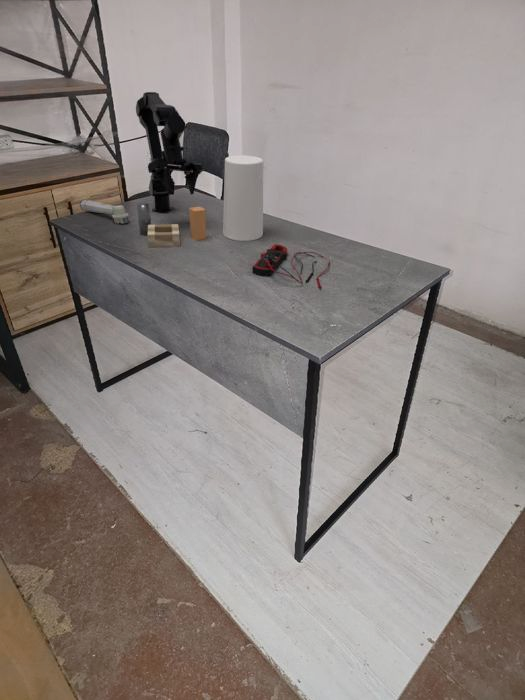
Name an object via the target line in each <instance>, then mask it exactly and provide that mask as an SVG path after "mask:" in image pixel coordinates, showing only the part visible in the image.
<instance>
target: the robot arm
mask: <svg viewBox="0 0 525 700" xmlns="http://www.w3.org/2000/svg"><path fill="white" fill-rule="evenodd" d="M135 113H136V116H137V118H138V121H139V124H140V125H141V126H142V128H144V129H145V135H146V139H147V144H148V148H149V154H150V158H151V159H150V160H151V161H150V162H149V163H148V165H147V170H148V172H149V174H151V175H150V180H149V185H148V193H149V195H150V196H151V197H154V199H153V200H154V208H152V209H151V211H152V212H158V213H164V214H167V213H169V212H170V211H172V210H174V209H175V208H174V206H171V201H170V195H172V196H173V195H175V185H176V184H175V183H176V182H175V180H174V179H173V178H172V173H173V172H174V171H176V172H183V174H184V175H185V176H184V179H186V181H187V185H188V190H189V193H190V195H194V193H195V188H196V184H197V181H198V180H197V179H198V177H199V175H200V174H201V173H202V172H204V168H203V164H201V163H200V162H190V163H189V164H187V160H186V158H185V159H184V157H183V156H184V155H183V151H185V150H184V149H185V148H184V146H181V142H180V139H181V137H182V135H183V133H184V131H185V129H186V121H185V120H184V119H183V117H182V116H181V115H180V113H179V111H178V110H177V109H176V107H175V106H174V105H171V104H166V103H165V102H164V100H163V99H162V98H161V96H160V94H159V92H156V91H153V92H152V91H146V92H143V95H142V96H141V97H140V98H139V99H138V100H136V106H135ZM158 127H163V128H162V129H161V131H160V132H159V129H158ZM159 133H160V134H159ZM162 149H163V150H162ZM185 164H187V165H185Z"/></svg>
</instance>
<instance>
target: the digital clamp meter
mask: <svg viewBox="0 0 525 700" xmlns="http://www.w3.org/2000/svg"><path fill="white" fill-rule="evenodd" d="M309 253H311V254H314V255H317V256H319V257H322V258H323V257H324V259H325V258H326V257H325V256H324V255H322V254H319V253H317V252H314V251H302V252H301V251H300V252H299V251H298V252H294V254H293V256H292V259H291V261H290V263H291V267H292V268H293V269H294V270H295V271H296V273H297V275H298V276H299V279H300V281H299V279H297V278H295V276H293V274H291V273H290V272H289V271H288V270H287V269H285V268H284V267H282V266H280V265H281V264H282V262H283V261H287V256H288V255H287V254H288V248H287V247H286V246H285V245H282V244H273V245H272V246H271V247H270V248H268V249H266V252H263V253H260V258H259V259H258V260H257V261H256V263H254V265H252V274H253V275H256V276H259V277H265V278H266V277H271V276H272V275H273V274H274V272H275V273H277V274H281V275H284V276H287V277H289V278H291V279H294V280H295V281H297V282H298V283H299V284H302V283H303V279H302V277H301V275H302V270H303V266H304V265H303V262H302V261H301V260H300V259H299V258H298V257H296V256H298V255H302V254H304V255H307V256H310V257H312V258H314V259H316V256H314V255H311V254H309ZM294 258H295V259H296V260H298V262H299V263H300V264H301V267H300V273H299V271H298V270H297V269H296V267H295V266H294V265H293V260H294ZM317 262H318V261H317V260H316V261H313V262H312V264H311V265H312V266H311V268H312V270H311V273H310V275H309V276H308V277H307V279H306V280H305V284H304V286H306V285H307V284H308V283H309V282H310V280H311V279H312V277H313V276H314V264H315V263H317ZM330 264H331V262H330V260H329V261H328V264H327V267H326V268H325V269H324V270H323V272H321V273H320V274H319V275H318V276H317V277H316V279H315V281H316V283H317V288H318V289H319V291H320V292H322V288H323V287H322V285H321V281H320V279H319V277H320V276H321V275H322V274H324V272H326V271H327V270H328V269H329V266H330ZM278 267H280V268H281V269H282V270H284V271H285V272H286V273H287V274H286V273H284V272H280V271H277V270H276V269H278Z"/></svg>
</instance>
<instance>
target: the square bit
mask: <svg viewBox="0 0 525 700" xmlns="http://www.w3.org/2000/svg"><path fill="white" fill-rule="evenodd" d="M188 210H189V227H190V238H191V239H193V240H194V241H202V240H207V217H206V212H207V211H206V209H205V208H204V207H202V206H194V207H189V209H188Z"/></svg>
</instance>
